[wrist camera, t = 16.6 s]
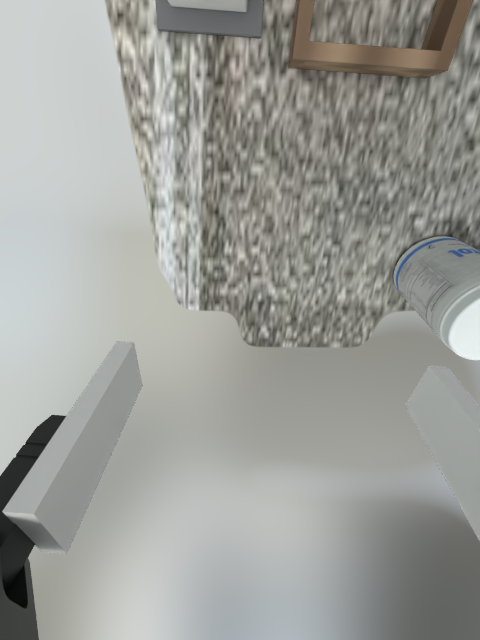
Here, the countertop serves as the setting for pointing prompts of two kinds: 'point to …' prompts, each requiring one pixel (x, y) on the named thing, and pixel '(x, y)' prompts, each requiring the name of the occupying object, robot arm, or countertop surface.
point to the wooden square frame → (377, 59)
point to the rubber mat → (211, 20)
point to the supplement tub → (444, 290)
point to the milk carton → (212, 4)
